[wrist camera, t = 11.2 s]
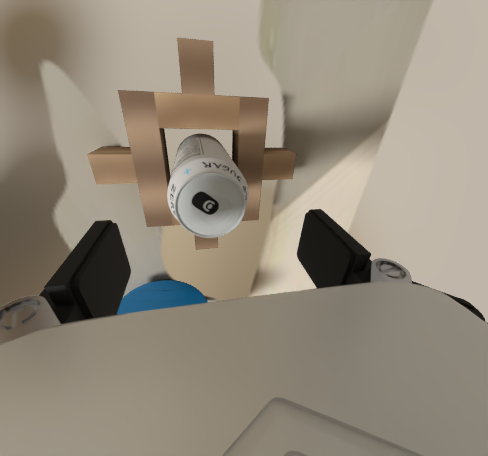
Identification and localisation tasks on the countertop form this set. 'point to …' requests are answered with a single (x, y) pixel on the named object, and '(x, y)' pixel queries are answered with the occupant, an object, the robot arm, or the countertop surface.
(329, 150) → the countertop surface
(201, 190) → the energy drink can
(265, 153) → the cross socket stand
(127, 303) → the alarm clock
